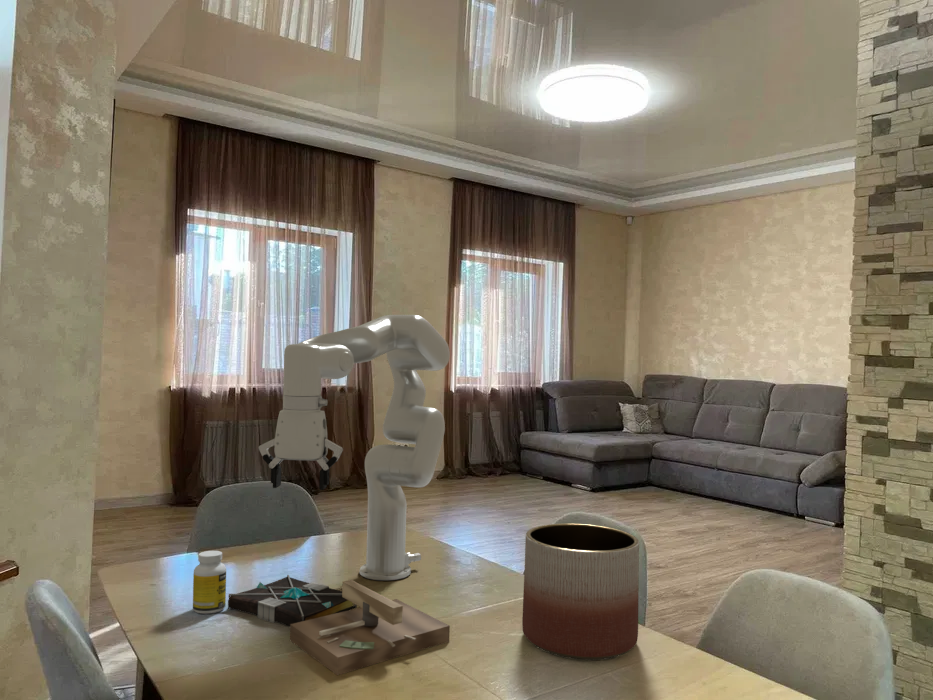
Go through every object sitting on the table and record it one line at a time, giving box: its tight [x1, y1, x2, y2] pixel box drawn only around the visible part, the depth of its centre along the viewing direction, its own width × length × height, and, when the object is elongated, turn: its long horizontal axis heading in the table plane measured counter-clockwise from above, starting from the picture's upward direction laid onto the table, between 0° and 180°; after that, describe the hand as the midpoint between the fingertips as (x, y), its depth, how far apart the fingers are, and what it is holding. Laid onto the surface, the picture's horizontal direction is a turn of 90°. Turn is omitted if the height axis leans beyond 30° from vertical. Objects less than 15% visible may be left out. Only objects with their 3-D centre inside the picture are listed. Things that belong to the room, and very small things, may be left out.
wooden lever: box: [319, 579, 403, 636], centre depth 132 cm, size 12×18×6 cm, turn 40°
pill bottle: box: [192, 550, 227, 615], centre depth 148 cm, size 6×6×12 cm
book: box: [227, 574, 358, 627], centre depth 150 cm, size 22×17×5 cm
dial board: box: [289, 598, 451, 676], centre depth 134 cm, size 24×20×3 cm
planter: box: [521, 522, 640, 661], centre depth 138 cm, size 22×22×20 cm
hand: (299, 487), depth 146 cm, fingers open, 9 cm apart
